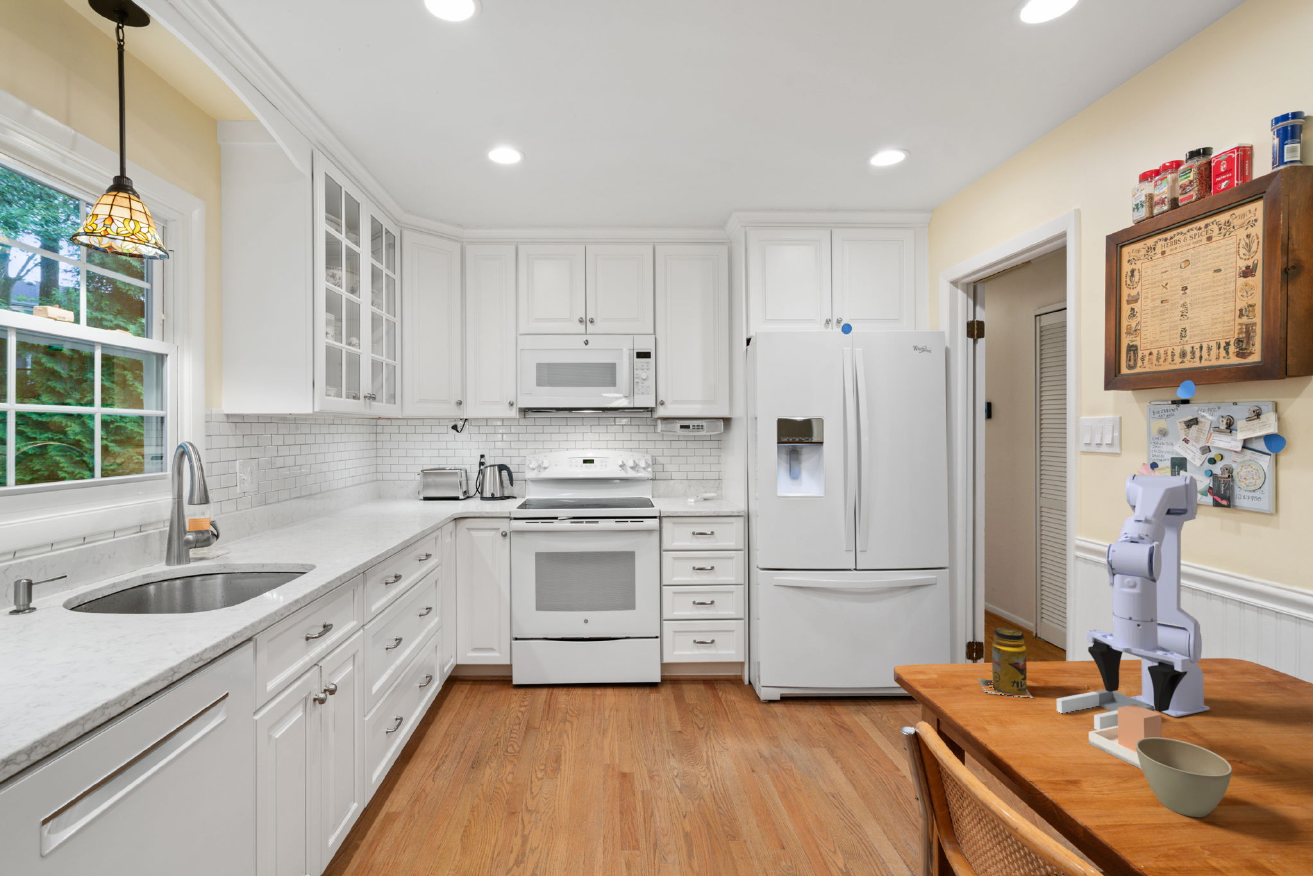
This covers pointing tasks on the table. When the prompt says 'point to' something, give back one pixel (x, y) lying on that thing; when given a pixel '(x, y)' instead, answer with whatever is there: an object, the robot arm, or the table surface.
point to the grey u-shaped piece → (1118, 700)
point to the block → (1137, 725)
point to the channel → (1088, 702)
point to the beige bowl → (1184, 775)
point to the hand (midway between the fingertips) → (1135, 699)
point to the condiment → (1008, 663)
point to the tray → (1113, 745)
